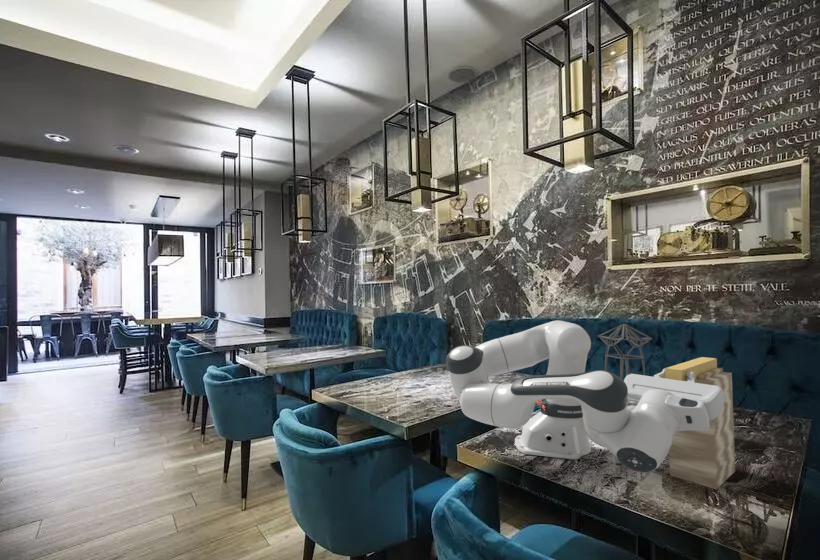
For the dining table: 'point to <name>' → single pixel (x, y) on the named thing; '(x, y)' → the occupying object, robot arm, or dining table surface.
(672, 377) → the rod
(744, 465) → the dining table surface
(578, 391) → the robot arm
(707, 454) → the plinth
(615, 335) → the geometric lantern
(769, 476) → the dining table surface
